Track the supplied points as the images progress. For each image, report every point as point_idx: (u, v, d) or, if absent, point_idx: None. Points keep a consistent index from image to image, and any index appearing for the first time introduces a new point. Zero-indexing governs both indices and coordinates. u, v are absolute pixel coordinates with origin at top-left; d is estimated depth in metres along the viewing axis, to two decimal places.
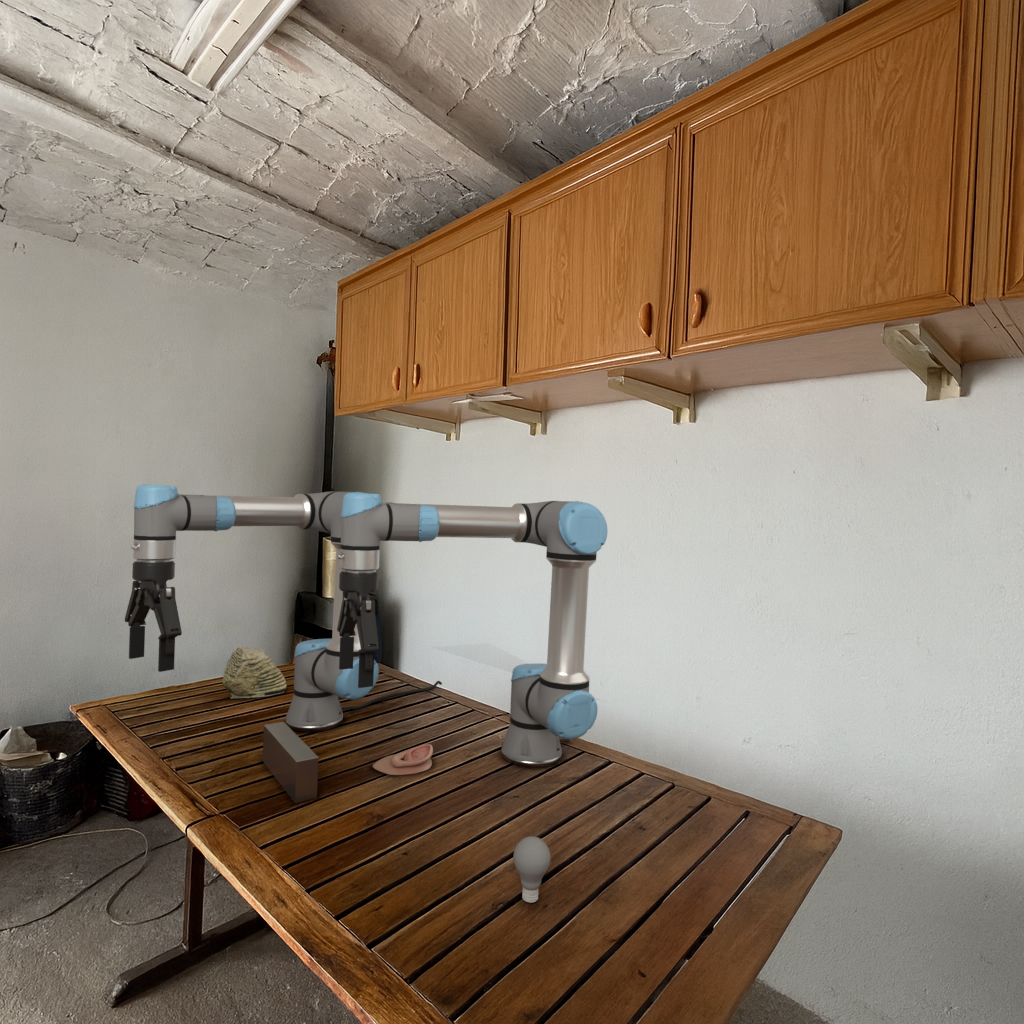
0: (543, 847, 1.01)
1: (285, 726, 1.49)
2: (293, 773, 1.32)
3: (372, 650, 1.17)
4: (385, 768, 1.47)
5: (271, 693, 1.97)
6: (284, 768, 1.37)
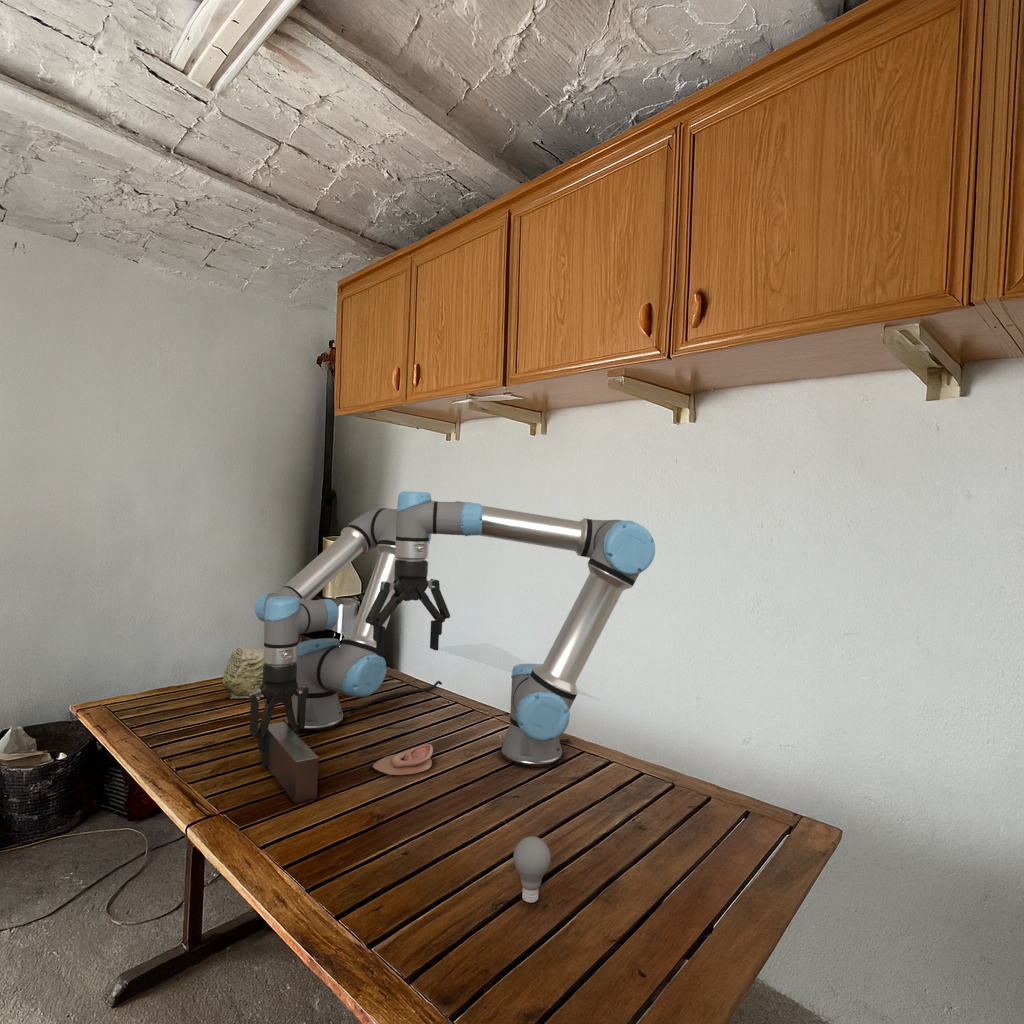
0: (543, 847, 1.01)
1: (285, 726, 1.49)
2: (293, 773, 1.32)
3: None
4: (385, 768, 1.47)
5: None
6: (284, 768, 1.37)
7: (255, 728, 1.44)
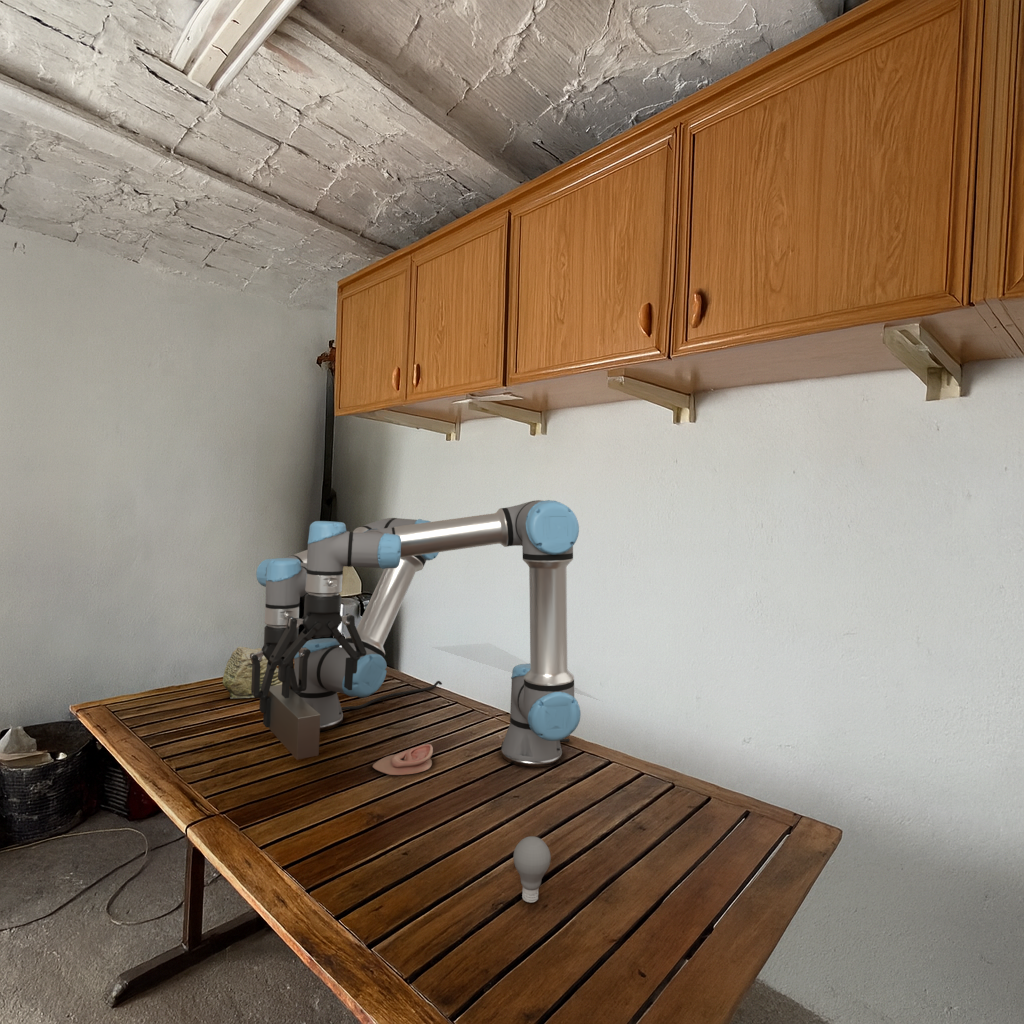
0: (543, 847, 1.01)
1: None
2: (294, 730, 1.32)
3: None
4: (385, 768, 1.47)
5: None
6: (286, 726, 1.36)
7: (257, 689, 1.44)
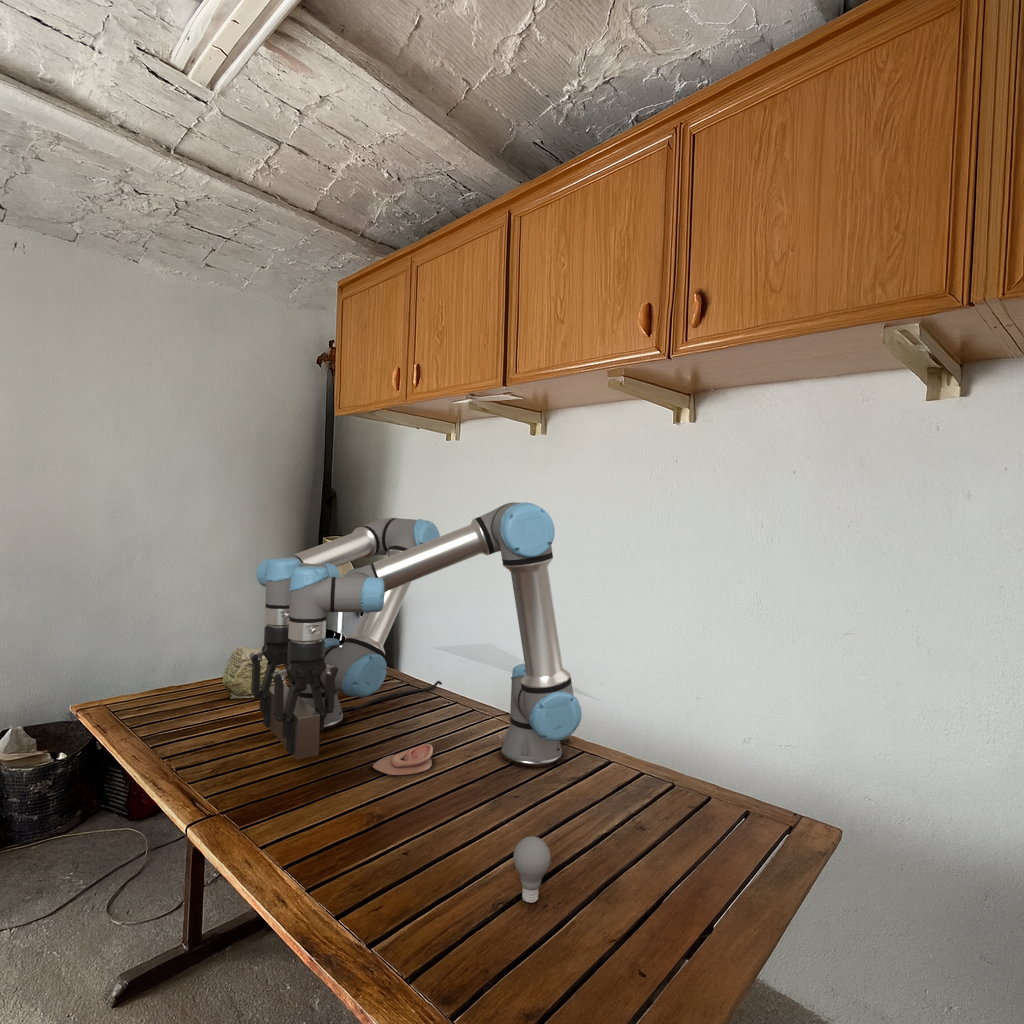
0: (543, 847, 1.01)
1: (287, 688, 1.49)
2: None
3: None
4: (385, 768, 1.47)
5: None
6: None
7: (257, 689, 1.44)
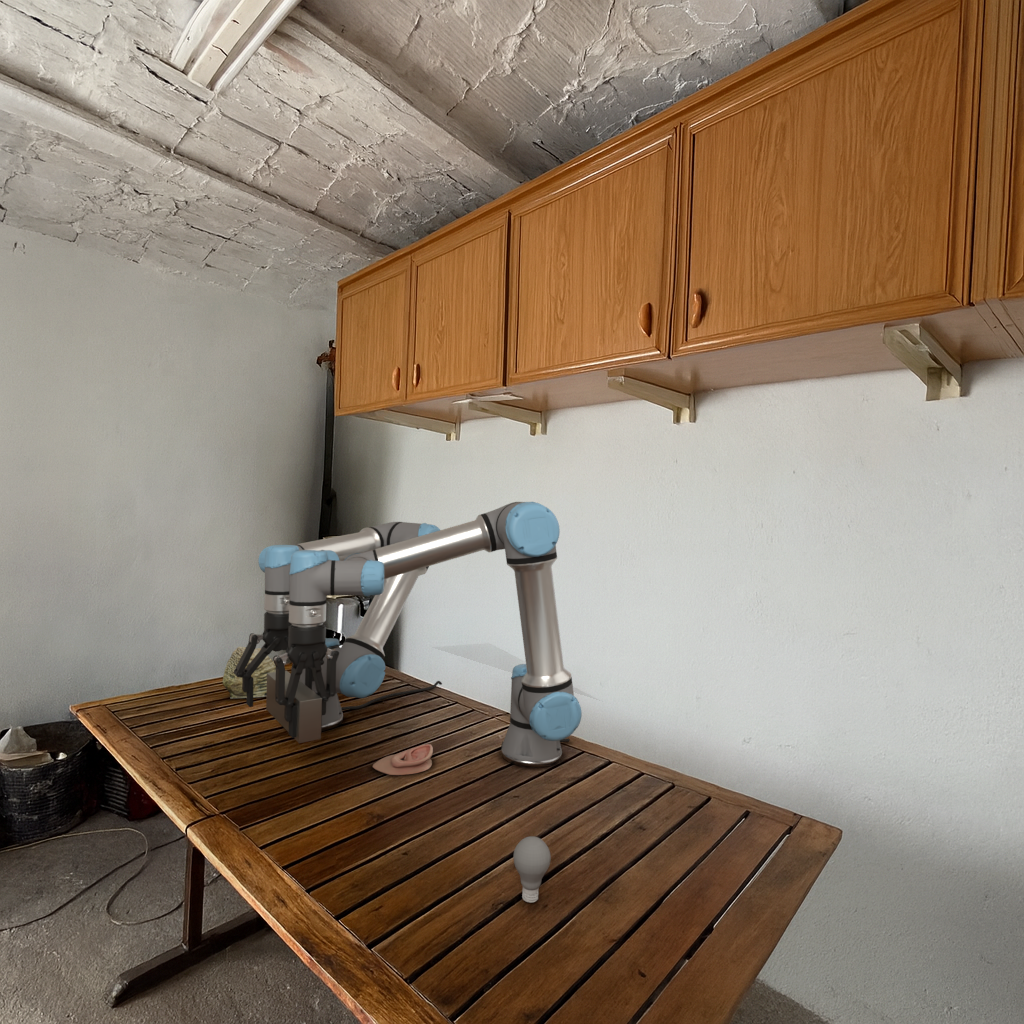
0: (543, 847, 1.01)
1: (288, 674, 1.49)
2: None
3: None
4: (385, 768, 1.47)
5: None
6: None
7: (242, 668, 1.43)
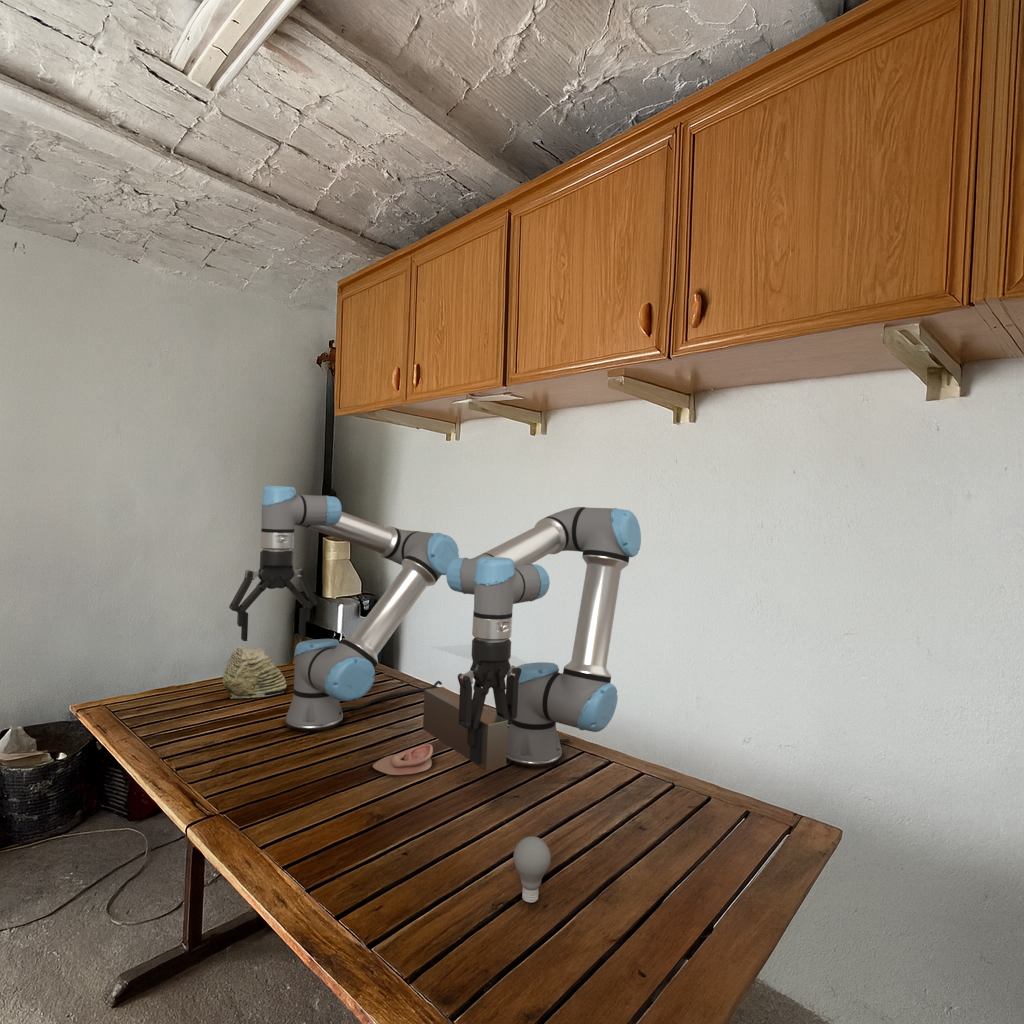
0: (543, 847, 1.01)
1: (448, 691, 1.37)
2: (482, 738, 1.19)
3: None
4: (385, 768, 1.47)
5: (271, 693, 1.97)
6: (464, 733, 1.24)
7: (237, 602, 1.47)
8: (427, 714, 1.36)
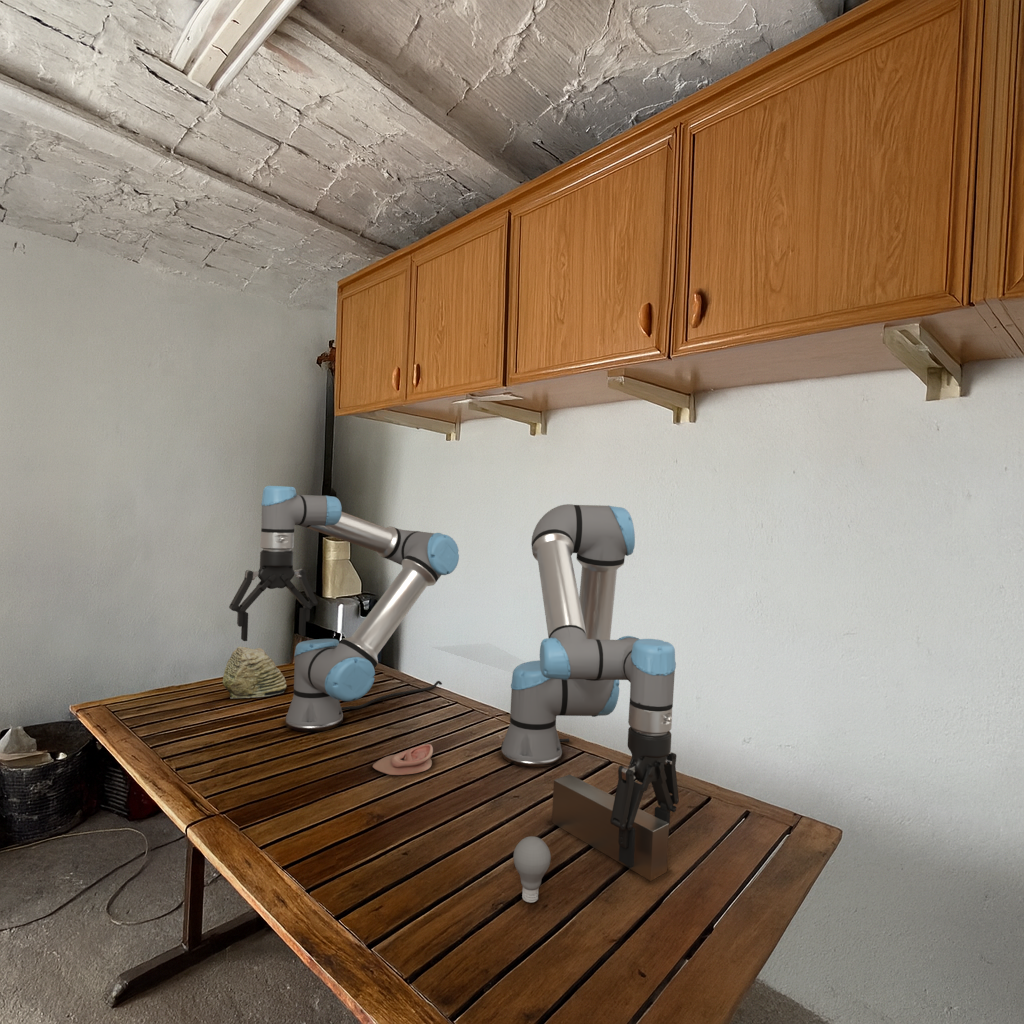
0: (543, 847, 1.01)
1: (580, 781, 1.27)
2: (643, 844, 1.10)
3: None
4: (385, 768, 1.47)
5: (271, 693, 1.97)
6: (616, 836, 1.15)
7: (237, 602, 1.47)
8: (558, 807, 1.26)
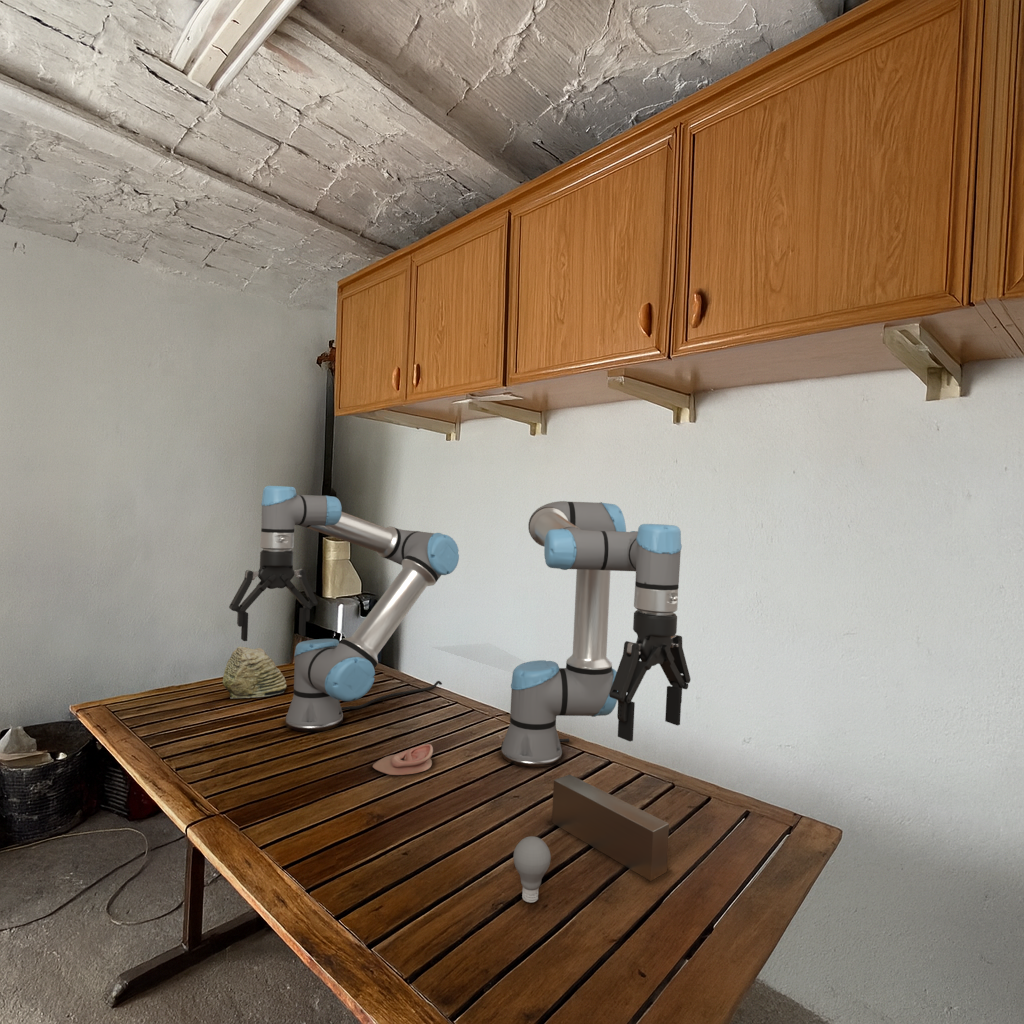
0: (543, 847, 1.01)
1: (580, 781, 1.27)
2: (643, 844, 1.10)
3: None
4: (385, 768, 1.47)
5: (271, 693, 1.97)
6: (616, 836, 1.15)
7: (237, 602, 1.47)
8: (558, 807, 1.26)
